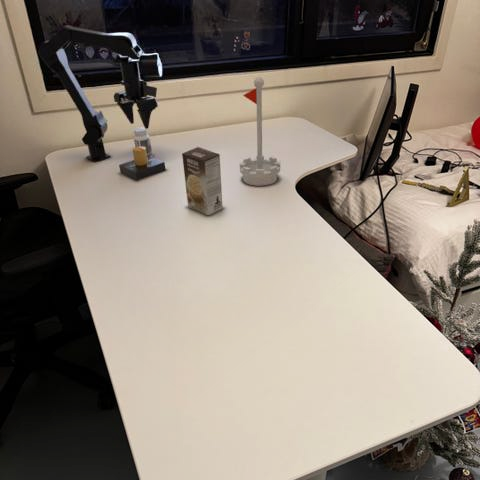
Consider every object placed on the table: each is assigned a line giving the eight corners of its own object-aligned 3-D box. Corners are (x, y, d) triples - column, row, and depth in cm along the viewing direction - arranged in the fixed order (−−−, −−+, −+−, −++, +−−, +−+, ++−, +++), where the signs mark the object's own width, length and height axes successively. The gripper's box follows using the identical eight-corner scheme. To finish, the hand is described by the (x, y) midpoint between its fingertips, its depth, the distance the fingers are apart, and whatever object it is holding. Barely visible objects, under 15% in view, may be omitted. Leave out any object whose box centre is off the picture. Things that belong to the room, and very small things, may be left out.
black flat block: (120, 173, 159) (118, 164, 157) (149, 163, 166) (147, 154, 164) (136, 180, 154) (135, 171, 152) (165, 170, 160) (164, 161, 158)
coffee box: (186, 207, 136) (180, 152, 126) (202, 200, 140) (197, 146, 130) (208, 216, 131) (203, 160, 121) (224, 208, 135) (220, 153, 125)
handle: (132, 163, 158) (129, 147, 155) (143, 159, 160) (140, 144, 157) (139, 166, 155) (137, 150, 152) (150, 162, 158) (148, 147, 154)
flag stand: (285, 174, 153) (288, 73, 134) (271, 189, 144) (271, 83, 125) (249, 169, 158) (247, 71, 139) (233, 183, 149) (228, 81, 130)
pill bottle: (154, 154, 173) (150, 126, 167) (150, 159, 169) (146, 131, 163) (139, 154, 174) (134, 126, 168) (135, 159, 169) (130, 131, 163)
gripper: (167, 76, 153) (173, 125, 163) (136, 69, 164) (143, 116, 174) (139, 83, 148) (147, 133, 157) (108, 75, 158) (118, 123, 168)
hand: (139, 126), depth 164 cm, fingers open, 9 cm apart
